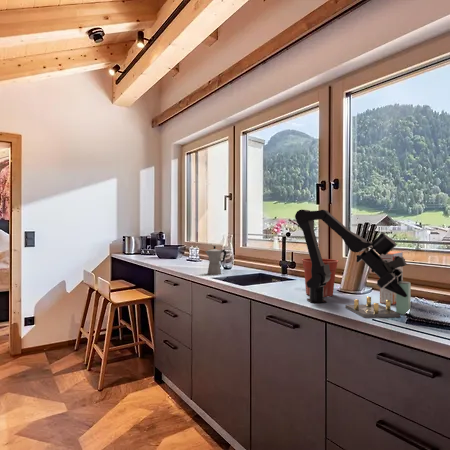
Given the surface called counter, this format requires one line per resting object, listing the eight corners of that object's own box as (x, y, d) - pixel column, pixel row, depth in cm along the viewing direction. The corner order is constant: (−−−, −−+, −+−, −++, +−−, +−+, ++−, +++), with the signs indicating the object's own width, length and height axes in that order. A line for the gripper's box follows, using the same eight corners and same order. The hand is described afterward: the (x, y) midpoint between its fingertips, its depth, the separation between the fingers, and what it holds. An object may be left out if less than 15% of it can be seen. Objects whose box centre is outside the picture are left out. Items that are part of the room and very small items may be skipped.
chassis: (345, 307, 144) (345, 295, 144) (378, 307, 145) (378, 295, 145) (363, 317, 129) (363, 304, 129) (400, 316, 130) (400, 303, 130)
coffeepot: (208, 275, 233) (208, 246, 233) (202, 273, 242) (202, 245, 242) (229, 273, 240) (229, 246, 240) (222, 272, 249) (223, 245, 249)
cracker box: (388, 298, 164) (389, 250, 164) (403, 299, 160) (403, 251, 160) (378, 303, 153) (378, 252, 153) (393, 305, 149) (394, 253, 149)
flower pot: (337, 292, 177) (338, 258, 177) (338, 299, 161) (339, 262, 161) (302, 290, 181) (302, 257, 181) (300, 296, 165) (300, 260, 165)
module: (396, 313, 135) (396, 282, 135) (398, 310, 139) (398, 280, 139) (408, 315, 133) (408, 283, 133) (410, 312, 137) (410, 281, 137)
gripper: (387, 250, 131) (421, 284, 124) (397, 247, 146) (428, 278, 140) (363, 271, 135) (396, 305, 129) (375, 266, 150) (405, 296, 144)
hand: (407, 295), depth 135 cm, fingers closed on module, 5 cm apart
